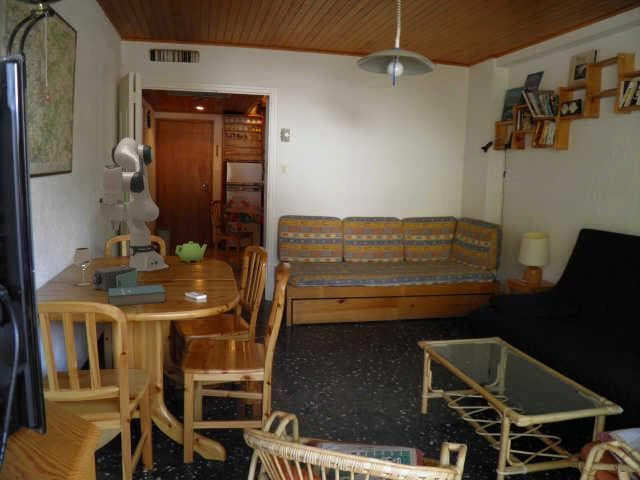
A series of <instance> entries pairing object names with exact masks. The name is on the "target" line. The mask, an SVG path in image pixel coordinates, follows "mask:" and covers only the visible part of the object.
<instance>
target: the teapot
mask: <svg viewBox="0 0 640 480" xmlns="http://www.w3.org/2000/svg"><path fill="white" fill-rule="evenodd" d="M207 246H208V244H206V243H205V244H203V245H202V246H200V244H199V243H194V241H188V243H183V244H182V245H176V249H175V252H174V253H175V254H176V255H178V257H179V258H180V259H181V260H183V262H185V263H186V264H190V263H191V261H195V263H200V260H202V259H203V257H204V253H205V251H206V248H207Z"/></svg>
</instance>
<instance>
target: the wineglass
mask: <svg viewBox="0 0 640 480" xmlns="http://www.w3.org/2000/svg"><path fill="white" fill-rule="evenodd" d="M73 256H74V257H73V264H75V266H77V267H78V268H79V269H81V272H82V282H79V283H76V285H77V286H78V287H79V286H80V287H84V286H86V287H87V286H90V285H92V283H91V282H86V279H85V270H86V268H88V266H90V265H91V263H92V261H93V258H92V255H91V252H90V248H88V247H80V248H79V247H78V248H75V251H74V255H73Z"/></svg>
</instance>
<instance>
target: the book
mask: <svg viewBox="0 0 640 480" xmlns="http://www.w3.org/2000/svg"><path fill="white" fill-rule="evenodd" d="M107 292H108V303H109V301H110V303H109V304H113V305H116V306H115V307H119V306H120V307H121V306H122V305H123V306H131V305H143V304H144V305H145V304H157V303H158V304H159V303H166V299H165V298H166V297H165V294H166V291H165V289H164V286H163V285H162V284H155V285H154V284H152V285H138V286H134V287H122V288H109V289H108V291H107ZM109 304H108V305H109ZM117 305H118V306H117Z"/></svg>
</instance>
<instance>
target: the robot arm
mask: <svg viewBox="0 0 640 480" xmlns="http://www.w3.org/2000/svg"><path fill="white" fill-rule="evenodd" d="M110 157H111V159H112V162H113V164H107V165H105V166H103V171H102V185H103V193H102V194H103V195H102V196H101V197H100V198H98V203H99V204H100V205H99V212H100V213H99V214H100V217H101V219H103V220H108V221H109V224H110V226H111V230H114V231H119V229H120V224H121V222H126V225H127V227H128V231H129V240H130V244H129V256H130V257H129V258H130V259H129V265H128V266H130V267H134V268H136V270H137V272H154V271H157V270H163V269H168V268H169V265H168V264H166V263H165V260H164V257H163V256H162V255H161V254H160V253H158V252H156V251H155V250H156V249H157V248H158V246H157V245H155V244H152V243H151V242H152V240H151V239H152V238H151V231H150V229H149V228H148V227H147V225H146V223H145V222H153V221H155V220H157V219H158V217H159V214H160V208H159V207H158V206H157V204H155V202H154V201H153V198H152V195H151V193H150V190H149V189H150V188H149V178H148V169H147V167H148V166H149V165H151V164H152V162H154V157H155V152H154V149H153V147H152V146H151V145H148V144H138V143H137V141H136V140H135V139H134V138H131V137H124V138H122V139H121V140H120V141H119V142H118V144H117V145H114V146H113V147H112V148H111V152H110ZM123 169H126V172H125V171H123ZM125 193H129V194H130V195H131V197H132V198H133V200H132V201H127V202H126V201H125ZM154 249H155V250H154Z"/></svg>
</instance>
